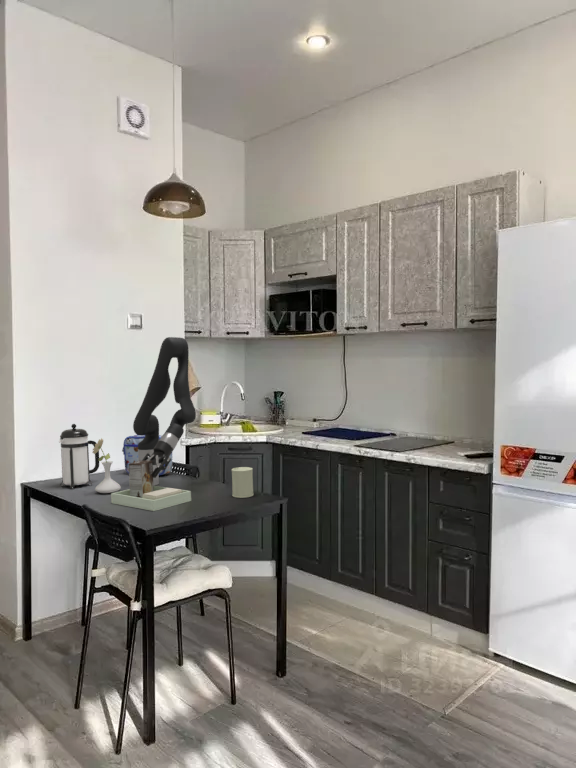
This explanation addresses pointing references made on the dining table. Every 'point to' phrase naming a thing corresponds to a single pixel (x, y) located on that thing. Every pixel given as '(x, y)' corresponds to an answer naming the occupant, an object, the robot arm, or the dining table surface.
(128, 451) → the lunch box
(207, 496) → the dining table surface
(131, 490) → the coffee box
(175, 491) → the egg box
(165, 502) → the tray
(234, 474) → the can
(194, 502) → the dining table surface
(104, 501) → the dining table surface
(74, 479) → the coffee press
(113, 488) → the flower in vase
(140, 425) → the robot arm
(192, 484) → the dining table surface
